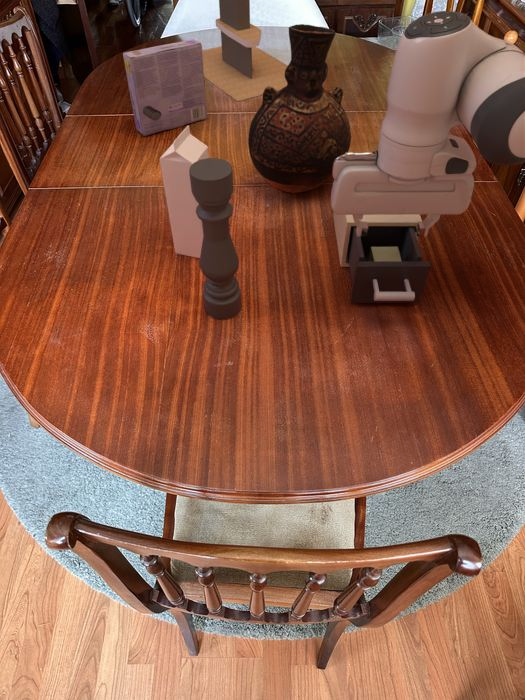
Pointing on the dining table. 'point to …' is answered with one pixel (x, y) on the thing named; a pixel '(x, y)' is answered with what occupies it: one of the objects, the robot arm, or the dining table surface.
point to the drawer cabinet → (346, 221)
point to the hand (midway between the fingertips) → (391, 234)
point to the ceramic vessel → (300, 118)
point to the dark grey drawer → (386, 266)
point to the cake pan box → (166, 86)
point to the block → (384, 254)
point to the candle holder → (216, 236)
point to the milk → (183, 192)
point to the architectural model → (241, 56)
